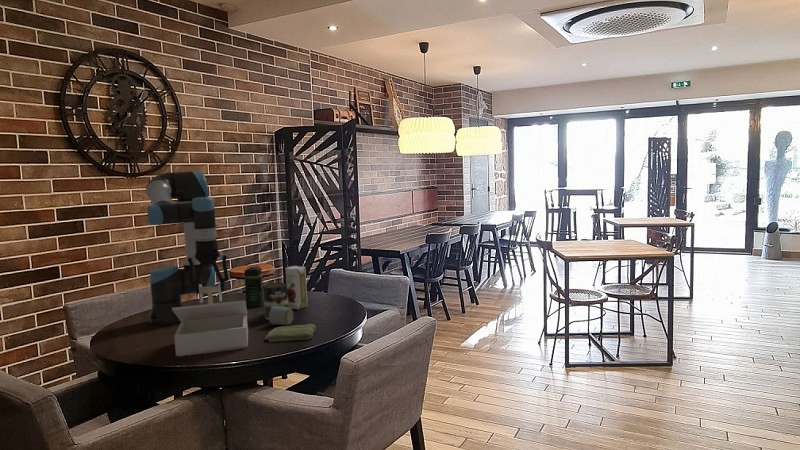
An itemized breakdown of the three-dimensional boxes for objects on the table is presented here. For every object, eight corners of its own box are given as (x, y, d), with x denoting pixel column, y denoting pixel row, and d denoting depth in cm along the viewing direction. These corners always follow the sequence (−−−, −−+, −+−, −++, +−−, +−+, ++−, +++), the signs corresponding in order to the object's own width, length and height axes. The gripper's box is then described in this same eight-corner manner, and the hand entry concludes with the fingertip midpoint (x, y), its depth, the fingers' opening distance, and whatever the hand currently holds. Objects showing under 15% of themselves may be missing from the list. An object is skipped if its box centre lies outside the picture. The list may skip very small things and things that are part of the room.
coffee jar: (262, 307, 243) (259, 268, 241) (245, 308, 242) (242, 269, 240) (265, 302, 253) (262, 264, 251) (248, 303, 252) (245, 265, 250)
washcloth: (272, 332, 204) (272, 324, 204) (317, 330, 205) (316, 322, 204) (264, 343, 191) (264, 335, 191) (312, 341, 192) (311, 332, 191)
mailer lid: (180, 321, 196) (180, 299, 199) (247, 314, 203) (246, 293, 206) (172, 310, 180) (172, 286, 183) (245, 302, 186) (243, 279, 189)
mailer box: (182, 341, 197) (181, 322, 196) (248, 333, 203) (246, 314, 203) (176, 356, 180) (174, 336, 179) (247, 347, 186) (246, 327, 185)
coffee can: (291, 317, 224) (289, 285, 222) (268, 321, 219) (265, 288, 217) (285, 312, 233) (283, 281, 231) (262, 315, 228) (260, 284, 226)
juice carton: (297, 304, 245) (295, 265, 243) (310, 306, 240) (307, 266, 238) (285, 308, 239) (282, 267, 237) (298, 310, 234) (295, 269, 232)
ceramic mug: (287, 327, 209) (286, 308, 208) (268, 326, 211) (267, 308, 210) (298, 320, 219) (297, 302, 219) (280, 319, 221) (279, 302, 221)
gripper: (176, 242, 182) (182, 306, 185) (232, 238, 188) (237, 300, 190) (179, 240, 190) (185, 301, 192) (233, 236, 195) (238, 296, 197)
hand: (211, 301), depth 191 cm, fingers closed on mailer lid, 6 cm apart
